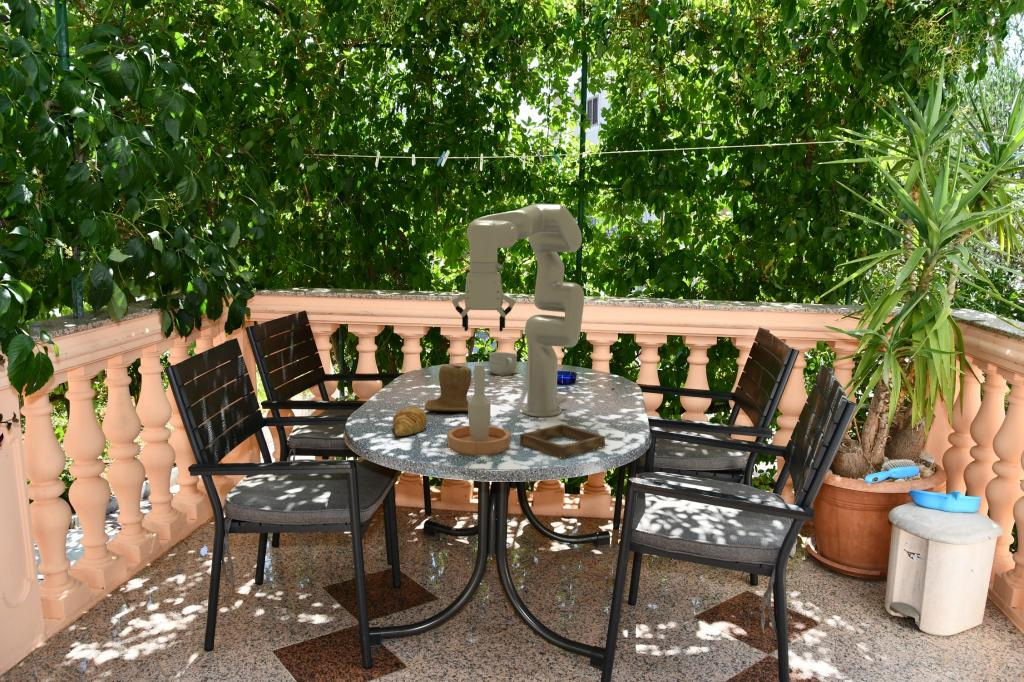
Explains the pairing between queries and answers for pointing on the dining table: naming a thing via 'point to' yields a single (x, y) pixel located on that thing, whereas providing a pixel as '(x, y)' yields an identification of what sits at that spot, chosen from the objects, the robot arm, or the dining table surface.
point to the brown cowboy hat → (452, 389)
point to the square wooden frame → (539, 443)
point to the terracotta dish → (462, 441)
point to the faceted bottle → (479, 408)
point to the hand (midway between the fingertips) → (483, 330)
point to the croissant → (409, 421)
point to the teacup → (502, 362)
